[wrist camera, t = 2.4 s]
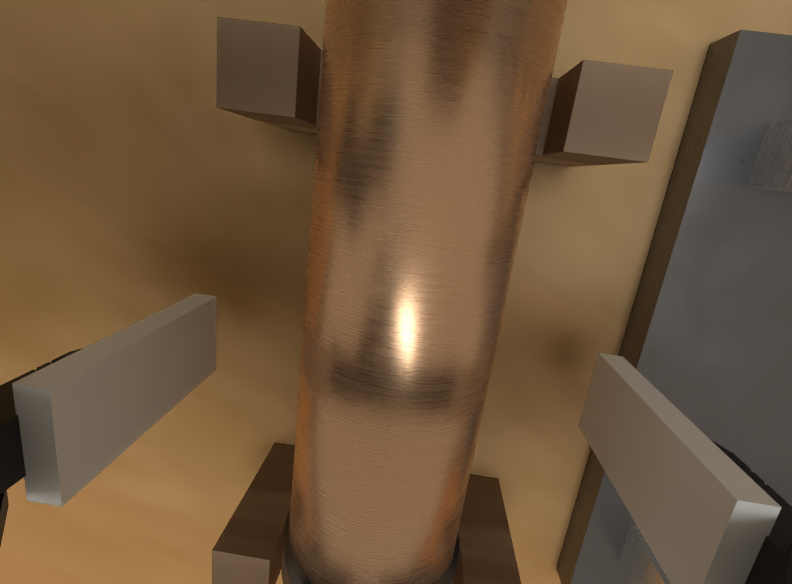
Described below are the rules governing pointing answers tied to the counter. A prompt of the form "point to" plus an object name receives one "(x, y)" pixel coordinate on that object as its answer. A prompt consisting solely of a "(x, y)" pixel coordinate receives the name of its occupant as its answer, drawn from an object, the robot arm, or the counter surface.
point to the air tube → (408, 274)
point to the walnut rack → (558, 144)
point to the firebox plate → (712, 297)
